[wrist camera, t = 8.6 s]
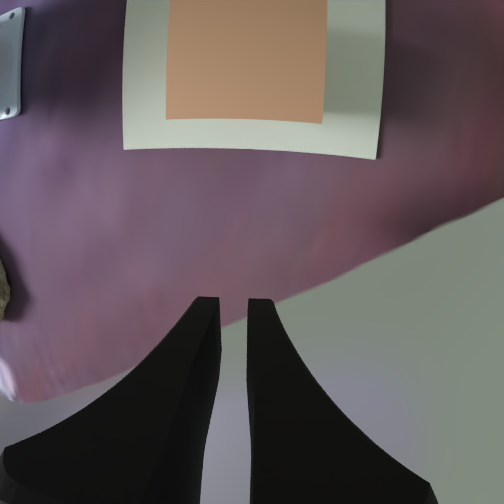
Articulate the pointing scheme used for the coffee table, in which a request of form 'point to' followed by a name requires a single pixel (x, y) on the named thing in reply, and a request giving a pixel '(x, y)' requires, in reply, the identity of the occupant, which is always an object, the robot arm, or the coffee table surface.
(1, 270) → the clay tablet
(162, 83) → the grey mat
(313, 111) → the terracotta block
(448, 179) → the coffee table surface
